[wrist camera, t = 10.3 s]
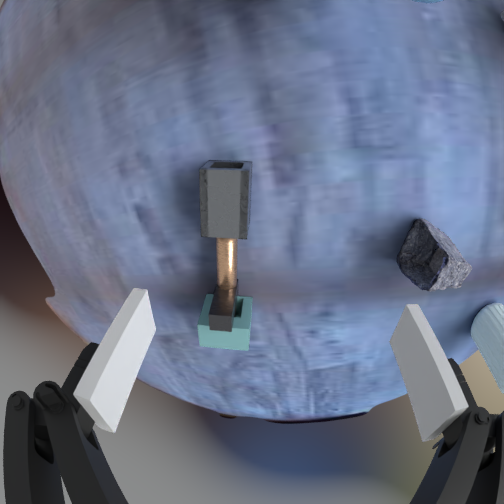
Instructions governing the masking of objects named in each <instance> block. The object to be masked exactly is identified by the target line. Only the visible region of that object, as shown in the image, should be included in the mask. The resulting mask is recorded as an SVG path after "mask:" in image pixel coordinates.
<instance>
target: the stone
mask: <svg viewBox="0 0 504 504" xmlns="http://www.w3.org/2000/svg"><path fill="white" fill-rule="evenodd" d="M424 225H425V226H424ZM434 249H437V251H435V250H434ZM397 263H398V266H399V268H400V270H401V271H402V273H403V274H404V275H405V276H406V277H407V278H409V279H410V280H411V282H412V283H414V284H415V285H416V286H418V287H419V288H420V289H422V290H427V291H435V290H437V289H441V290H444V289H445V288H459V287H461V284H462V282H463V280H464V279H465V278H466V277H467V275H468V274H469V273H470V272H471V270H472V266H470V264H469V263H467V262H466V260H465V259H464V258H463V257H462V255H461V253H460V252H459V250H458V249H457V248H456V246H455V244H454V243H453V242H452V240H451V239H450V238H449V237H448V236H447V235H446V234H445V233H444V232H441V231H440V230H439V229H438V228H436V227H434V226H433V225H432V224H431V223H430V222H428V221H426V220H425V219H417V220H416V221H415V222H414V224H413V225H412V227H411V230H410V231H409V232H408V235H407V238H406V240H405V242H404V244H403V246H402V248H401V250H400V252H399V254H398V256H397Z"/></svg>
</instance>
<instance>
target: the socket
mask: <svg viewBox="0 0 504 504" xmlns="http://www.w3.org/2000/svg"><path fill="white" fill-rule="evenodd" d="M213 296H214V294H207V295H206V298H205V301H204V304H203V308H202V311H201V314H200V318H199V321H198V324H197V325H198V334H199V342H200V346H203V347H212V348H222V349H234V350H246V351H248V350H249V339H250V327H251V315H252V297H244V296H238V297H237V303H236V317H234V322H233V328H232V332H225V331H214V330H210V329H209V316H208V314H209V310H210V307H211V303H212V299H213Z"/></svg>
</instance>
